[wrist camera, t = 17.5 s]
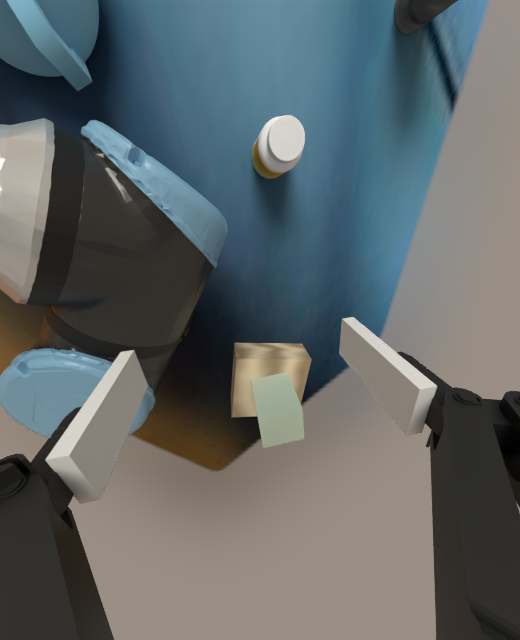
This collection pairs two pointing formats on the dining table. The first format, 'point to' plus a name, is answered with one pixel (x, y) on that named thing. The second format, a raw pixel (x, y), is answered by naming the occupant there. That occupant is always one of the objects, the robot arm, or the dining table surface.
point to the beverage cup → (417, 13)
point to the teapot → (49, 37)
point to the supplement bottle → (278, 146)
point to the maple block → (265, 371)
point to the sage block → (278, 410)
